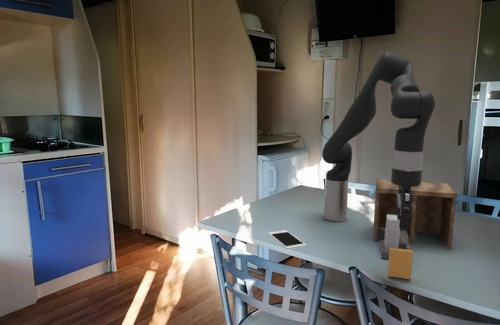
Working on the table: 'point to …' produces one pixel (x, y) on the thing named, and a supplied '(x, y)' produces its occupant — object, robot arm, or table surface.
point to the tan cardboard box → (398, 260)
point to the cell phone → (287, 239)
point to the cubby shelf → (418, 209)
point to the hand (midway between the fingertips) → (402, 224)
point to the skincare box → (392, 232)
